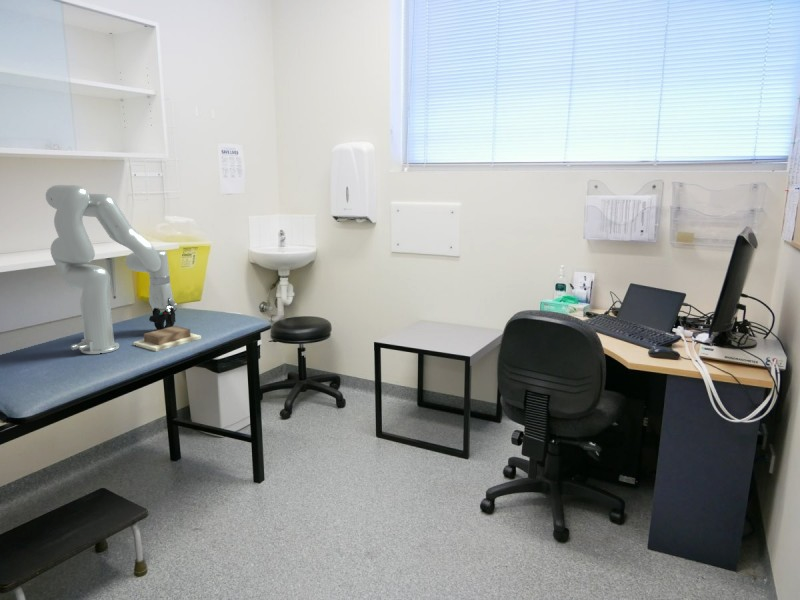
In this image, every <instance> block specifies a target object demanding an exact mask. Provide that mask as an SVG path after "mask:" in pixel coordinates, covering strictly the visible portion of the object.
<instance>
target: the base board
mask: <svg viewBox="0 0 800 600" xmlns="http://www.w3.org/2000/svg"><path fill="white" fill-rule="evenodd" d="M201 339H202V335H200V334H195V333H192V332H191V329H190V328H186V327H182V326H178V325H173V327H169V328H165V329H161V330H157V329H156V330H152V331H150V332H145V333H143V339H139V340H136V341H133V343H132V344H133V346H135V345H136V346H135V347H140V348H143V349H146V350H149V351H153V352H159V351H163V350H165V349H170V348H173V347H177V346H179V345H185V344H187V343H190V342H191V343H192V342H194V341H197V340H201Z"/></svg>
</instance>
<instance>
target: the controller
mask: <svg viewBox="0 0 800 600" xmlns="http://www.w3.org/2000/svg"><path fill="white" fill-rule="evenodd" d="M169 310H171V308H170V309H169ZM167 314H168V312H167V311H166V309H164V310H163V311H160V313H159V314H156V315H153V314H152V315H149V317H148V321H149V322H150V323H151V322H152V323H153V325H154V327H155V329H156V331H157V330H161V329H165V328H169V327H173V326H175V322H174V323H170V324H169V323H168V318H167Z"/></svg>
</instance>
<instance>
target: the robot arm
mask: <svg viewBox="0 0 800 600" xmlns="http://www.w3.org/2000/svg"><path fill="white" fill-rule="evenodd" d="M45 200H46V202H47V204H48V205H50V207H52V208H54V209H55V210H56V211H55V214H54V218H53V219H54V220H53V225H54V228H55V231H56V234H57V236H58V237H56V238H55V239H54V240H53V241H52V242H51V246H50V254H51V258H52V259H53V262H54V264H55V266H56V268H57V271H58V272H59V274H60V276H61V279H62V280H63V282H64V283H65V284H66V285H67V286H68V287H69V288H72V289H74V290H75V289H76V290H80V291H81V296H80V301H79V302H80V304H79V307H80V314H81V321H82V330H83V338H82V339H81V341H80V342H79V343H74V344H71V345H70V349H71V350H72V351H75V350H79V351H80V352H81V353H82V354H85V355H100V353H102V354H106V353H111V352H115V351H116V350H118V349H119V348H120V343H118V342H115V337H114V329H113V320H112V318H113V317H112V310H111V300H110V289H111V276H110V273H109V272H108V270H107V269H105V268H104V267H102V266H101V265H100V266H99V265H95V264H89V263H91V262H92V261H93V260H94V259H95V255H96V254H95V253H96V252H95V249H94V246H93V243H92V241H91V240H90V237H89V235H88V232H87V230H86V227H85V226H84V220H83V219H84V218H83V217H91V218H92V217H93V218H96V219H97V220H98V222H99V224H100V225H101V226H102V228H103V229H104V231H105V232H106V233H107V235H108V236H109V238H110V239H112V241H114V242H116V243H117V244H119V245H120V246H121V245H122V246H123V247H125V248H128V249H129V250H130V251H131V252H132V253H130V254H128V255H126V258H125V265H126V267H127V268H128V269H129V270H131V271H132V272H133V271H134V272H139V273H148V274H149V275H148V276H149V287H148V289H149V290H148V291H149V292H148V293H149V294H148V296H149V298H148V303H149V306H150V308H151V311H152V316H153V315H156V314H159V313H160V312H161V310H162V311H165V310H166V311H167V312H168V314H167V318H168V323H169V324H170V323H174V324H175V323H176V322H177V321H176V311H177V307H178V304H177V303H176V301H175V300H174V295H173V289H172V285H171V277H170V267H169V266H170V265H169V260H168V259H169V258H168V257H169V256H168V252H167V251H166V250H163V249H155V247H154V245H153V244H152V243H151V242H150V240H148V239H147V238H146V237H144V236H143V235H142V234H141V233H140V232H139V231H137V230H136V229H135V228H133V226H132V225H131V223H130V222H129V221H128V219H127V217H126V215H124V213H123V211H122V210H121V208H120V206H119V205H118V204H117V202H116V201H115V199H114V198H113V196H110V195H108V194H104V193H90V192H89V191H88V190H87V188H85V187H83V186H80V185H75V184H73V185H72V184H56V185H52V186H50V187H49V188H48V189H47V190H46V192H45ZM169 309H171V310H169Z"/></svg>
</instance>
